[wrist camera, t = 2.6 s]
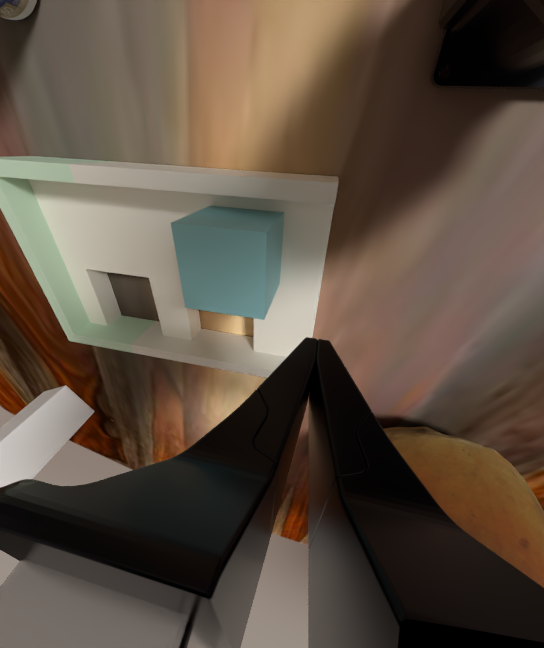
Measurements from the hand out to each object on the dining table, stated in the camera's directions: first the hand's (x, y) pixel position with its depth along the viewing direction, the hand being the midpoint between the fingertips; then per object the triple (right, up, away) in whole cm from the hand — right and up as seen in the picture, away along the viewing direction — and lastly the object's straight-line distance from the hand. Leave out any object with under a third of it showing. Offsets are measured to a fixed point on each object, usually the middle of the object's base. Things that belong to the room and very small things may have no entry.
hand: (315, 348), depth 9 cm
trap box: (-8, +5, +13) cm, 17 cm away
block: (-3, +6, +9) cm, 11 cm away
